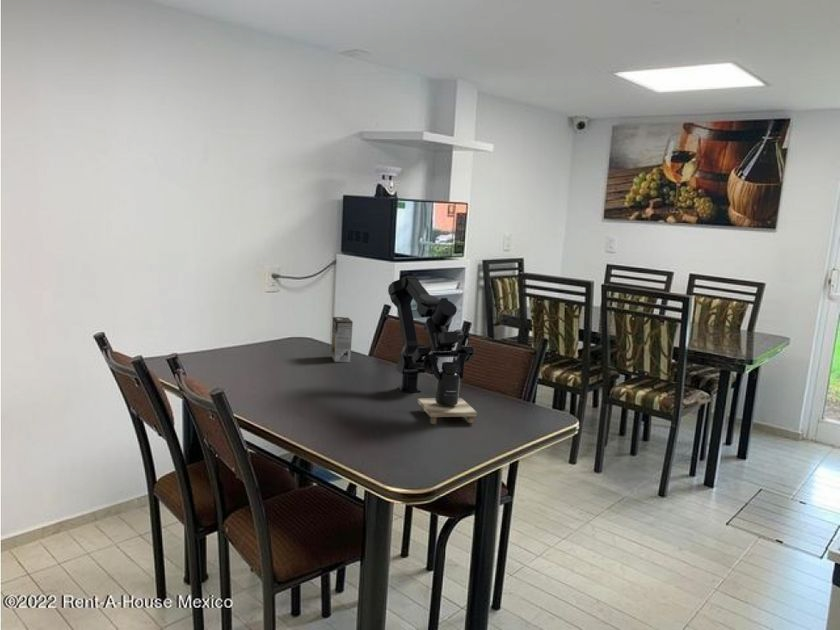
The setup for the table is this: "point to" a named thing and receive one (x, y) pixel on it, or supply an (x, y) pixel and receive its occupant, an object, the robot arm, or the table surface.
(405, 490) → the table surface
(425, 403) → the small stand
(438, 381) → the supplement bottle
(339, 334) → the coffee box
